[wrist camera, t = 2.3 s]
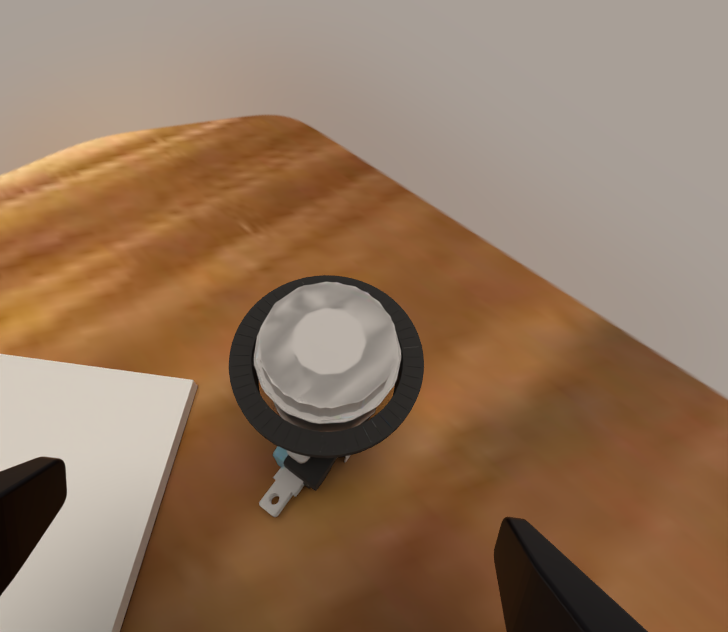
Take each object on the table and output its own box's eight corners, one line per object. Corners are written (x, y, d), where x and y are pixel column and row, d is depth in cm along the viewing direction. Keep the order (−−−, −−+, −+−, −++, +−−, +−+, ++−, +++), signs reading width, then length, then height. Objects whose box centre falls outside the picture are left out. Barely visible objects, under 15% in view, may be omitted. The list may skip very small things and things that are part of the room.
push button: (319, 553, 17) (316, 555, 9) (220, 473, 18) (129, 403, 10) (404, 420, 20) (467, 322, 12) (315, 358, 21) (310, 226, 13)
